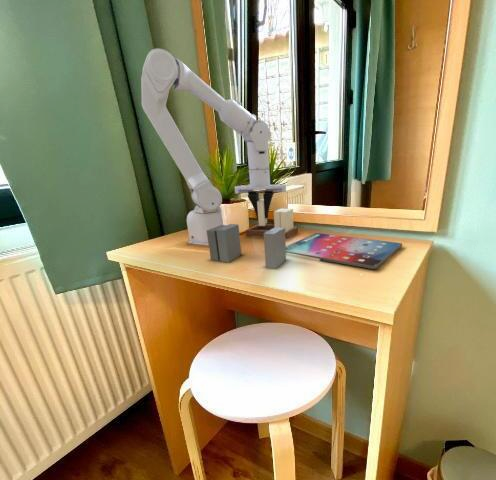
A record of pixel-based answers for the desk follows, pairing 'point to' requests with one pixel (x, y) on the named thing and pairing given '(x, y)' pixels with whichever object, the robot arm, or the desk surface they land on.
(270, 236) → the grey books
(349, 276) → the desk surface
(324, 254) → the tablet
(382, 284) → the desk surface
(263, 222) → the white book
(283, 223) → the white books
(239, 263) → the desk surface
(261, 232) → the book tray
